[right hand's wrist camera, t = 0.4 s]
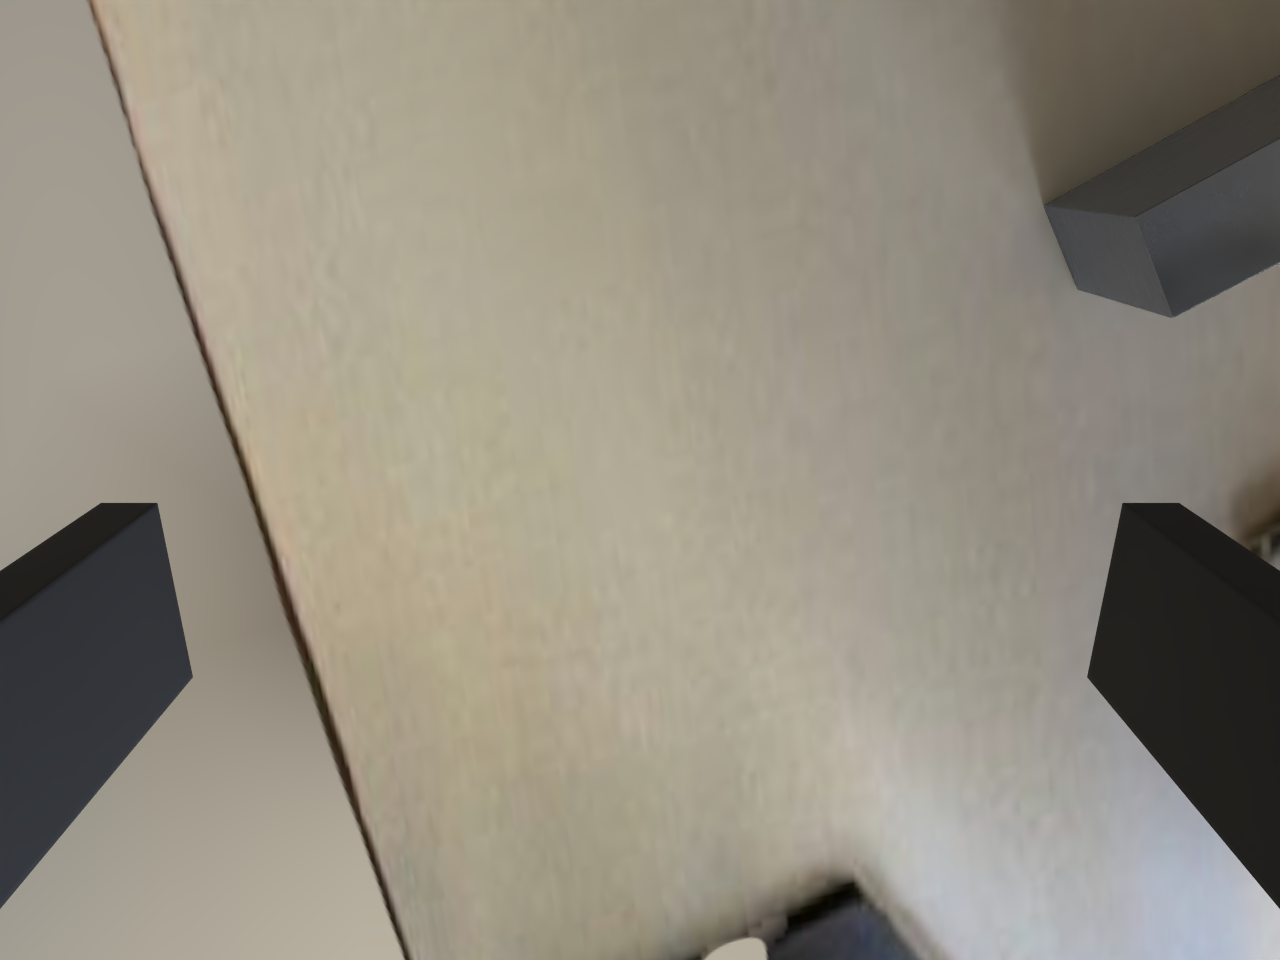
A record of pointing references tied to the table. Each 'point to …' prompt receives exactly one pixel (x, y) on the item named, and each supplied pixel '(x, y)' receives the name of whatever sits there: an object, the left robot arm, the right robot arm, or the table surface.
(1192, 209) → the bar
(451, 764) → the table surface
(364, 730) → the table surface
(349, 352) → the table surface
